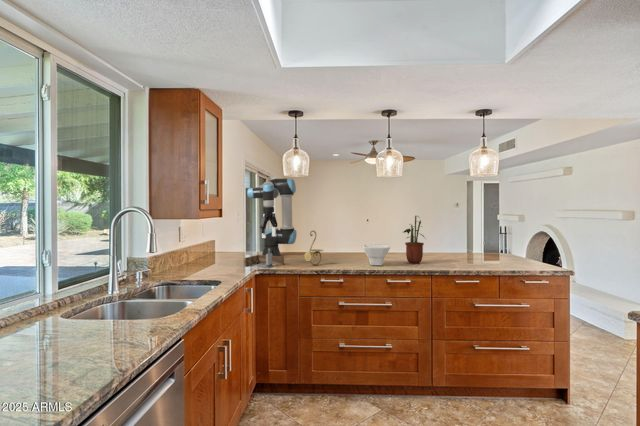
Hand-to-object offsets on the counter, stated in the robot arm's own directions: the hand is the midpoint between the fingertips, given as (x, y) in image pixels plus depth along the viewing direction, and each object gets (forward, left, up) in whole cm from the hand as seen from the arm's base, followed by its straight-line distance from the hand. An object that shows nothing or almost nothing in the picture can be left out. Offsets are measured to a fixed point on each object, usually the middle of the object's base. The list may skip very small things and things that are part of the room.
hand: (269, 237), depth 268 cm
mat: (0, -3, -21) cm, 21 cm away
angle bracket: (0, -4, -21) cm, 21 cm away
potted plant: (-51, +92, -21) cm, 107 cm away
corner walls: (-3, -6, -21) cm, 22 cm away
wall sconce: (-18, +27, -21) cm, 39 cm away
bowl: (-33, +68, -21) cm, 78 cm away
